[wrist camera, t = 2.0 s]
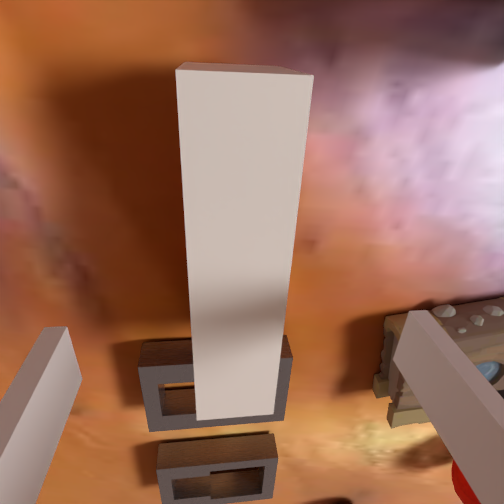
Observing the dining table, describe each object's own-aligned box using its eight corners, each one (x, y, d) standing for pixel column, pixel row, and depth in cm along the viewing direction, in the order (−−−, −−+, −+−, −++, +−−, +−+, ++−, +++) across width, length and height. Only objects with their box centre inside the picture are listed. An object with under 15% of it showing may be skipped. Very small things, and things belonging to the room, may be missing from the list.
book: (371, 390, 35) (394, 437, 31) (380, 307, 29) (410, 350, 25) (509, 366, 36) (550, 409, 32) (544, 280, 30) (600, 318, 26)
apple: (461, 425, 40) (510, 496, 34) (513, 430, 42) (568, 498, 36) (425, 464, 44) (462, 534, 37) (474, 466, 46) (517, 534, 39)
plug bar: (186, 60, 18) (175, 69, 11) (271, 63, 19) (313, 75, 11) (198, 320, 27) (196, 420, 20) (255, 318, 28) (273, 414, 21)
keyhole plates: (142, 342, 28) (137, 367, 26) (286, 334, 29) (292, 357, 27) (165, 485, 39) (163, 510, 37) (268, 474, 40) (272, 498, 38)
